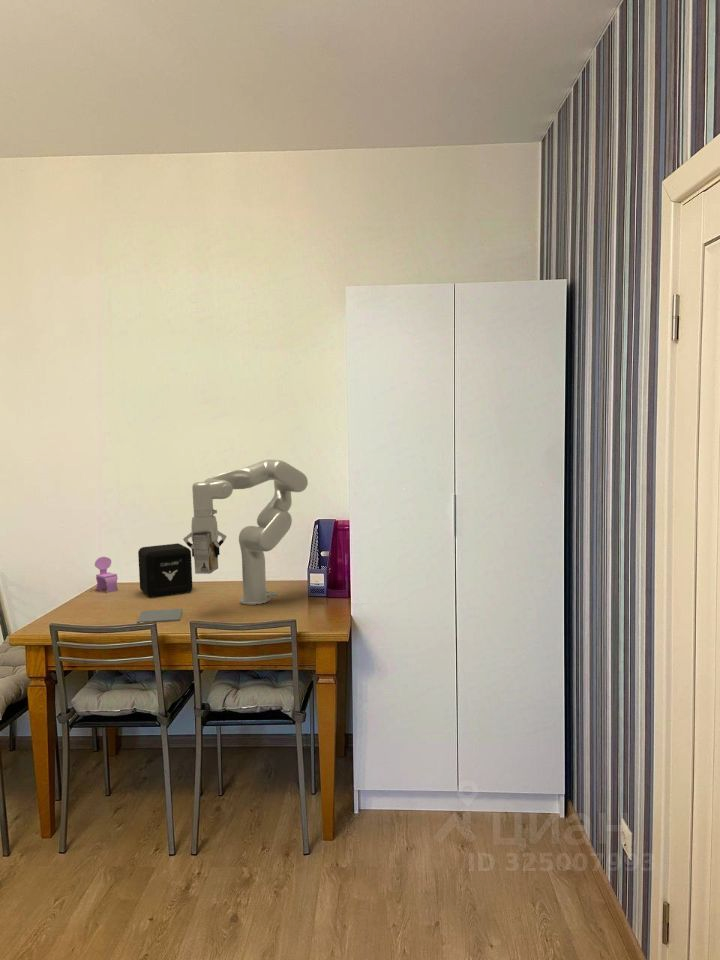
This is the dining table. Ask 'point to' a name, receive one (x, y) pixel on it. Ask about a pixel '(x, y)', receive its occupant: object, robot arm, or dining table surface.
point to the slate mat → (160, 615)
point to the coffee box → (204, 553)
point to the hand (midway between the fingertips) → (206, 557)
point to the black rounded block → (165, 570)
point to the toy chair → (105, 575)
